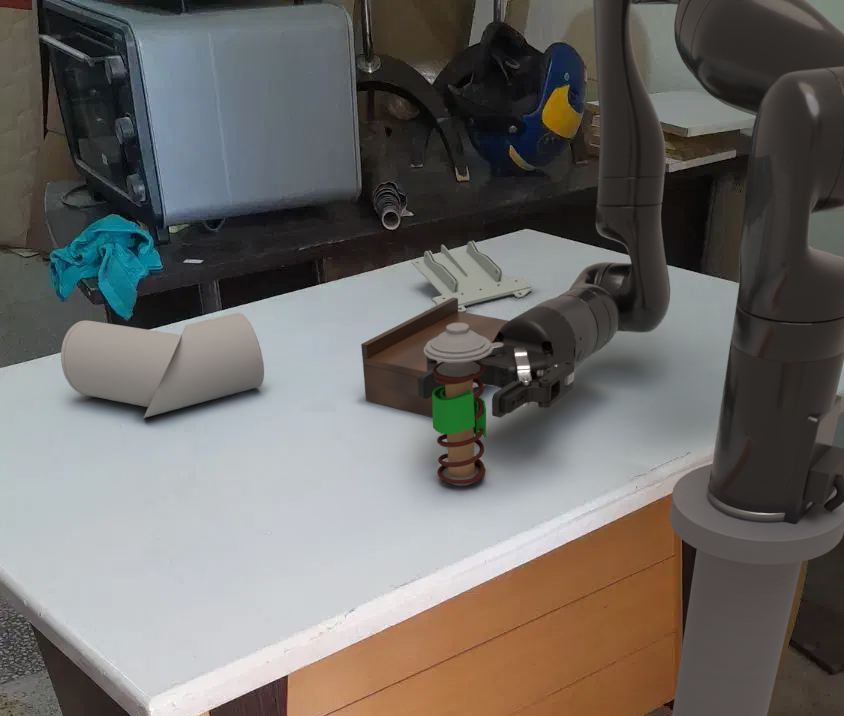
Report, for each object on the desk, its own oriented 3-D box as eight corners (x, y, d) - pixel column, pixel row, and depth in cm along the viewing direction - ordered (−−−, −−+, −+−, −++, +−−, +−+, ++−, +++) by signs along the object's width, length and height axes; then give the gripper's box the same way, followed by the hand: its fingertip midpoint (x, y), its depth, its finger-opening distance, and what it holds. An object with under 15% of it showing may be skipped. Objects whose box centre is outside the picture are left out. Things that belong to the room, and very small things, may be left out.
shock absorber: (506, 480, 101) (507, 326, 91) (457, 502, 98) (453, 344, 88) (465, 460, 104) (461, 309, 95) (417, 480, 102) (408, 327, 92)
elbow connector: (108, 436, 110) (274, 390, 117) (76, 333, 105) (252, 293, 112) (71, 419, 124) (222, 379, 131) (41, 328, 119) (200, 291, 126)
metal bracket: (396, 247, 143) (486, 228, 148) (393, 286, 148) (480, 266, 153) (448, 302, 136) (539, 280, 141) (443, 341, 141) (532, 318, 146)
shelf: (535, 368, 122) (537, 312, 118) (450, 422, 112) (448, 363, 107) (454, 350, 128) (452, 297, 124) (365, 400, 117) (360, 343, 113)
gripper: (488, 295, 106) (394, 344, 96) (610, 317, 99) (522, 372, 89) (489, 367, 111) (399, 420, 101) (605, 392, 104) (521, 452, 94)
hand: (457, 397), depth 95 cm, fingers open, 8 cm apart
